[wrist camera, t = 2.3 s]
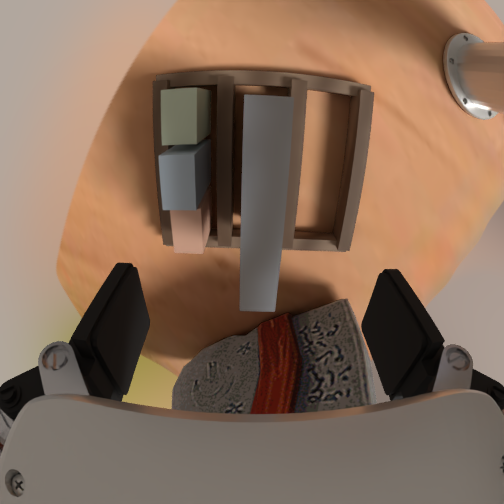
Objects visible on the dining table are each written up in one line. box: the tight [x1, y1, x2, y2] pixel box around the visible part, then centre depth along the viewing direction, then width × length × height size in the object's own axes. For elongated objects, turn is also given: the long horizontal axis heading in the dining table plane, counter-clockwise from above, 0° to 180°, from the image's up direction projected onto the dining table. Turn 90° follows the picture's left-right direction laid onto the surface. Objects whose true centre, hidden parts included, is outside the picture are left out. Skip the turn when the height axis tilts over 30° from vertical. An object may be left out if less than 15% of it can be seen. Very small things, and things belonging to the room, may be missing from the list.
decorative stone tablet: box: [172, 299, 377, 414], centre depth 36 cm, size 19×6×30 cm
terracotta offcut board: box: [170, 186, 212, 254], centre depth 29 cm, size 3×5×7 cm, turn 178°
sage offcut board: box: [161, 87, 212, 145], centre depth 23 cm, size 3×5×8 cm, turn 178°
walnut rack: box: [153, 70, 374, 252], centre depth 28 cm, size 22×20×3 cm
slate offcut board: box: [159, 139, 211, 210], centre depth 26 cm, size 3×5×9 cm, turn 178°
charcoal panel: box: [240, 95, 294, 312], centre depth 23 cm, size 2×14×16 cm, turn 178°
